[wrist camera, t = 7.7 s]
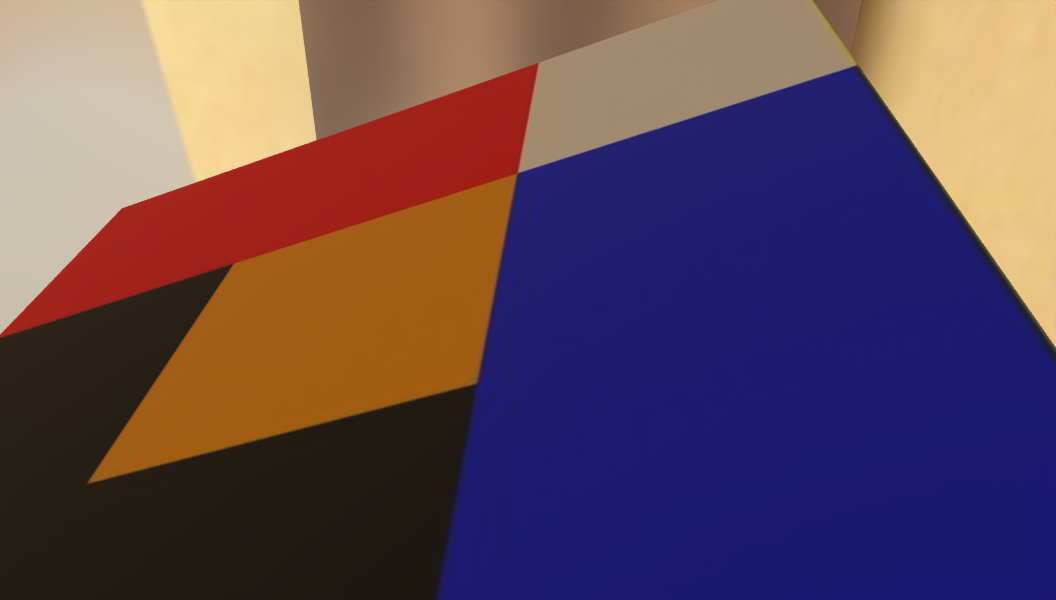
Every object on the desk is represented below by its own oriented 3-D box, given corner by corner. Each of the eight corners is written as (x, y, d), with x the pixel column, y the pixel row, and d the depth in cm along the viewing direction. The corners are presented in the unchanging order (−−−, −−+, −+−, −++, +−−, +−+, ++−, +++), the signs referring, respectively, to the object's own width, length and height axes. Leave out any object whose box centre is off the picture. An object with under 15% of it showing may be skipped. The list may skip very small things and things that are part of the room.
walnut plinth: (884, -311, 24) (928, -315, 21) (785, 213, 33) (805, 269, 30) (303, -318, 25) (257, -322, 22) (357, 195, 34) (330, 247, 31)
